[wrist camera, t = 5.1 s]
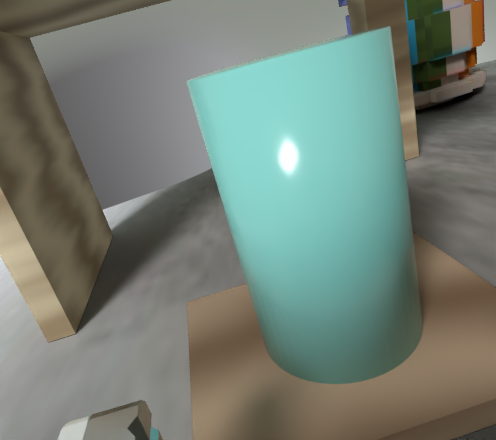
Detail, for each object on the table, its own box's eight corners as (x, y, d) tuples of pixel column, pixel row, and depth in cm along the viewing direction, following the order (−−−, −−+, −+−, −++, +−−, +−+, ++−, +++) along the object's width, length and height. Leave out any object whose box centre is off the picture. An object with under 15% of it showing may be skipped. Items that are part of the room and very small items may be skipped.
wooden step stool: (524, 193, 24) (527, -207, 17) (48, 342, 22) (-162, -37, 15) (400, 149, 36) (374, -86, 30) (96, 240, 35) (-5, 12, 28)
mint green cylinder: (449, 300, 15) (428, 15, 12) (370, 414, 12) (303, 56, 8) (320, 269, 20) (274, 53, 16) (233, 345, 16) (148, 91, 12)
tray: (600, 387, 12) (603, 361, 12) (206, 525, 11) (196, 501, 11) (415, 248, 21) (413, 231, 21) (193, 318, 20) (186, 302, 20)
